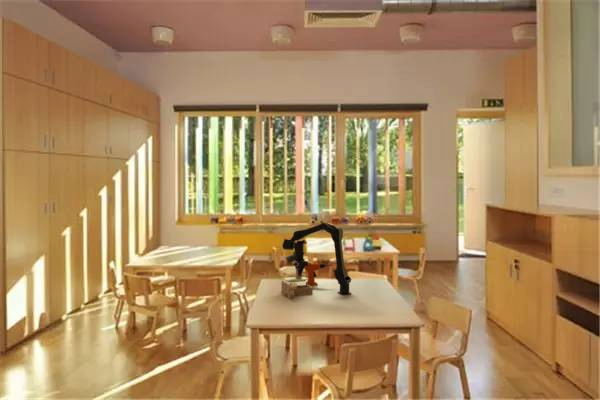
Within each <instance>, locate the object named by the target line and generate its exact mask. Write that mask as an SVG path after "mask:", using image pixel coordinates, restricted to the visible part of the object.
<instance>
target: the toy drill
mask: <svg viewBox="0 0 600 400" xmlns="http://www.w3.org/2000/svg"><path fill="white" fill-rule="evenodd" d="M326 267H333V264H332V263H331V264H324V263H317V262H315V263H311V262H308V266H305V268H304V270H305V272H307V279H308V280H306V281H305V285H309V286H311V287H313V286H314V287H315V286H317V287H318V282H317V281H315V278H316V277H317V276H318V275H317V274H316V272H315V271H318V270H321V269H325V268H326Z"/></svg>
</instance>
